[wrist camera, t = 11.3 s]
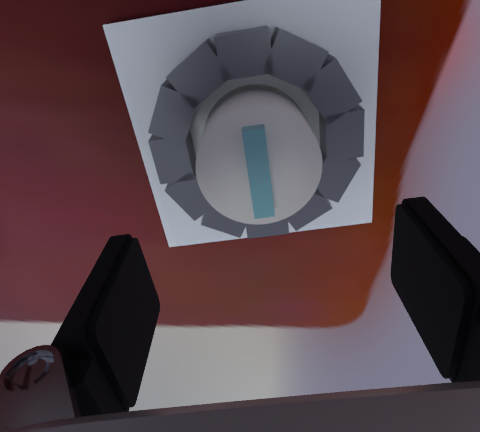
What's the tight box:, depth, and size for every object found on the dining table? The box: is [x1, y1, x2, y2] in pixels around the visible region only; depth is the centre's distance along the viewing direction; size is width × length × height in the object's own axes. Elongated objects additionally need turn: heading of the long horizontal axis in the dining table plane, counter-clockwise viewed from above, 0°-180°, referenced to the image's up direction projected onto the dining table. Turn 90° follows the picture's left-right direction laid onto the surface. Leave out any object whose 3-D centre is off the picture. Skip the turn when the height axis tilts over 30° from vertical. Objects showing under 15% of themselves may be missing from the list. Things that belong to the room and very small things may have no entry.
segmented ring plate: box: [103, 0, 381, 247], centre depth 21 cm, size 14×14×3 cm
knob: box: [195, 84, 322, 225], centre depth 19 cm, size 6×6×6 cm
